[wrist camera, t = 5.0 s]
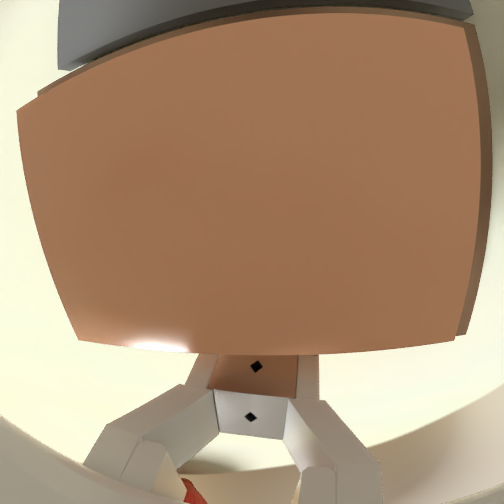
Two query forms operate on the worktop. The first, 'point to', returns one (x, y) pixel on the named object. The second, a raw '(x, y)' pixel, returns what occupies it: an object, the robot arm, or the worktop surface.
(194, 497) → the onion
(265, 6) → the mat
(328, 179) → the orange rectangular block
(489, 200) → the board
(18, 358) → the worktop surface
